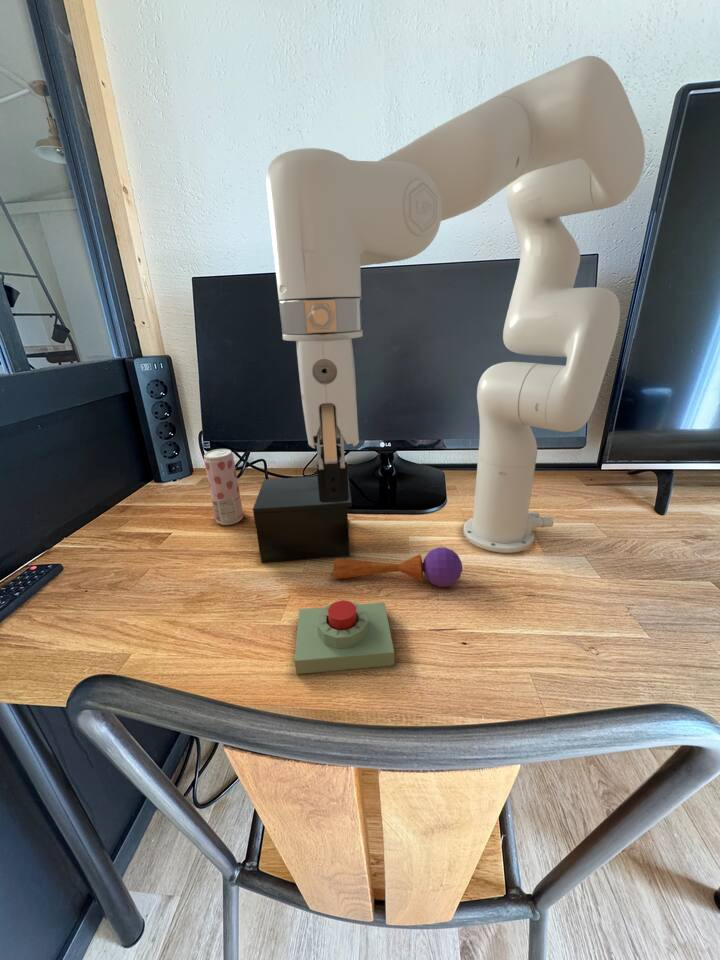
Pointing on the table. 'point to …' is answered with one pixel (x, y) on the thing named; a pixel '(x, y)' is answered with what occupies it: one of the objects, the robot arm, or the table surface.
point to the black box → (302, 534)
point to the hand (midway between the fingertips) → (334, 498)
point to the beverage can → (223, 486)
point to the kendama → (408, 567)
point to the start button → (342, 615)
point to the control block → (343, 640)
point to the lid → (293, 495)
